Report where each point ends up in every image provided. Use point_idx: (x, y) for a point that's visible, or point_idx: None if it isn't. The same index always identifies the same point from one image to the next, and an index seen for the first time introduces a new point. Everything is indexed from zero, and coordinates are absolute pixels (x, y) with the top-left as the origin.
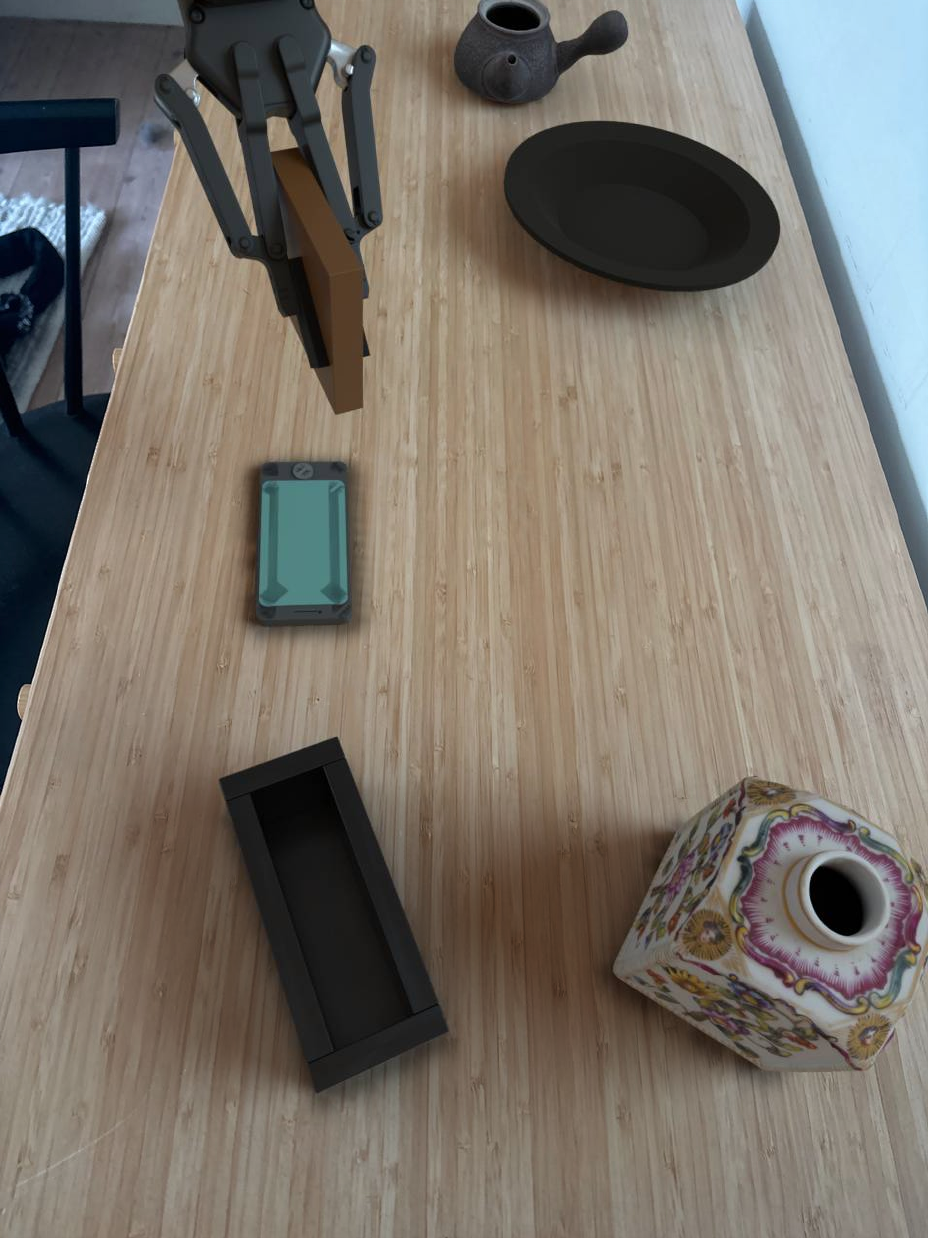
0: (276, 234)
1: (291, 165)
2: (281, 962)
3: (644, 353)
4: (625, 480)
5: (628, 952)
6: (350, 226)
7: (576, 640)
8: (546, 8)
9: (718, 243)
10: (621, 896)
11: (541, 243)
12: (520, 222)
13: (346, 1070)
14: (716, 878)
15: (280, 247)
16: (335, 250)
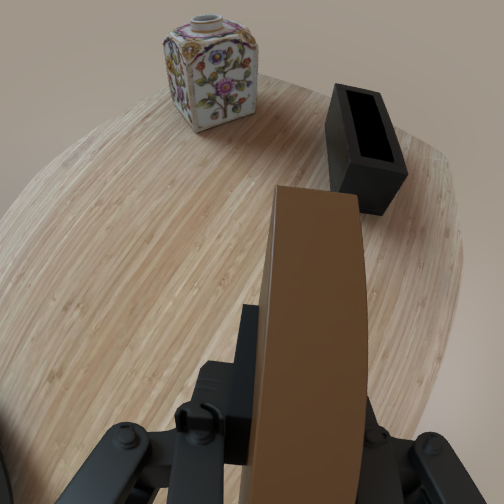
0: (372, 460)
1: None
2: (387, 116)
3: (3, 371)
4: (68, 296)
5: (249, 104)
6: (189, 444)
7: (169, 217)
8: None
9: None
10: (234, 126)
11: (6, 469)
12: (11, 493)
13: (370, 91)
14: (235, 38)
15: (368, 435)
16: (318, 257)
